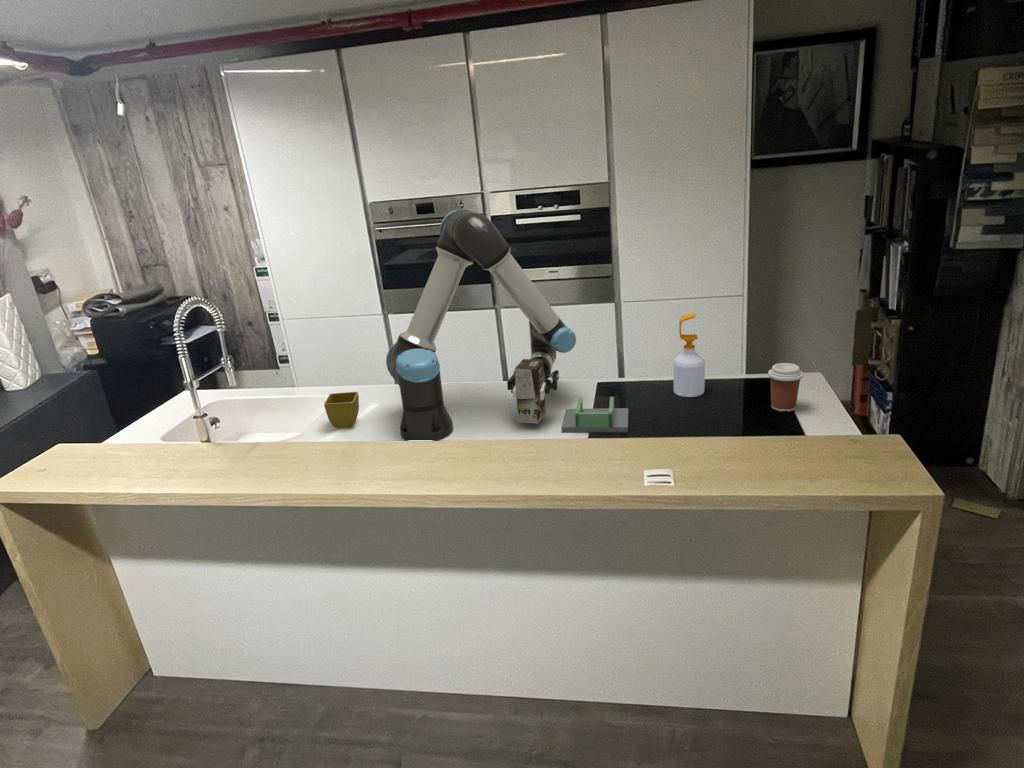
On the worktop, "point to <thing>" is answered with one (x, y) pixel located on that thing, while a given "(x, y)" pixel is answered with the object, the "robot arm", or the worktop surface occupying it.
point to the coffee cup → (784, 386)
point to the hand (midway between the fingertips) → (527, 395)
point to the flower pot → (342, 409)
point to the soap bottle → (689, 367)
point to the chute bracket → (595, 419)
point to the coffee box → (530, 390)
